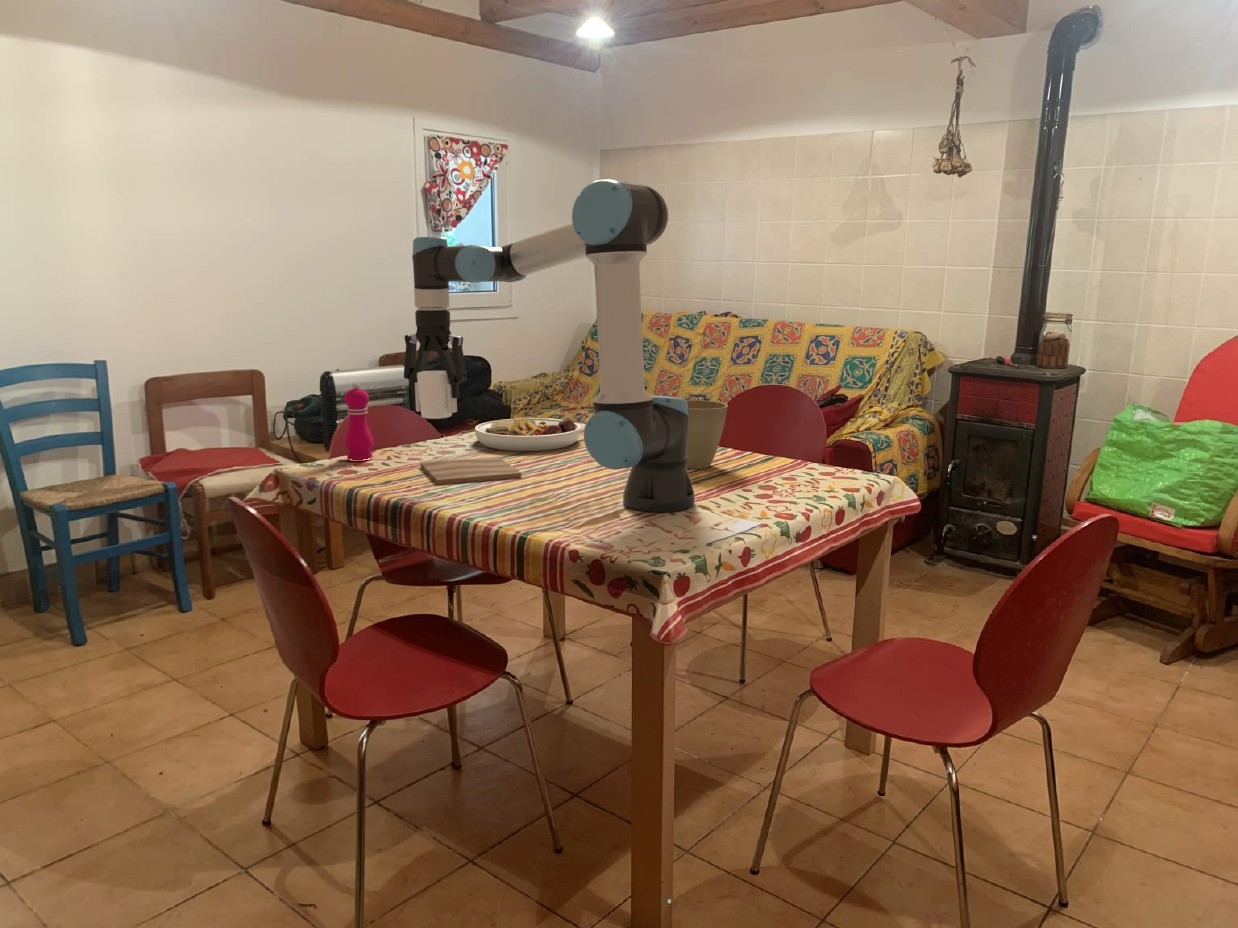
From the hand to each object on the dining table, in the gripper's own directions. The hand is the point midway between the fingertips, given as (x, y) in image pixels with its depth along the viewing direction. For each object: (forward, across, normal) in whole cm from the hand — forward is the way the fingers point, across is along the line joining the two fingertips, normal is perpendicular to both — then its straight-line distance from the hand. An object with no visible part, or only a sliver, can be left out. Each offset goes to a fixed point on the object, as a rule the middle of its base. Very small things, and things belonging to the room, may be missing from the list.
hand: (436, 411), depth 201 cm
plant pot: (+17, -50, -41) cm, 67 cm away
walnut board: (+17, 0, -14) cm, 22 cm away
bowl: (+17, +4, -54) cm, 57 cm away
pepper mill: (+17, +34, -16) cm, 41 cm away
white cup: (+1, 0, 0) cm, 1 cm away
